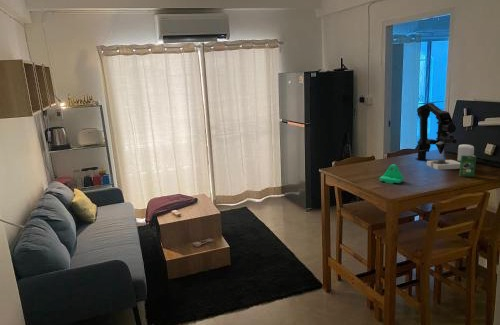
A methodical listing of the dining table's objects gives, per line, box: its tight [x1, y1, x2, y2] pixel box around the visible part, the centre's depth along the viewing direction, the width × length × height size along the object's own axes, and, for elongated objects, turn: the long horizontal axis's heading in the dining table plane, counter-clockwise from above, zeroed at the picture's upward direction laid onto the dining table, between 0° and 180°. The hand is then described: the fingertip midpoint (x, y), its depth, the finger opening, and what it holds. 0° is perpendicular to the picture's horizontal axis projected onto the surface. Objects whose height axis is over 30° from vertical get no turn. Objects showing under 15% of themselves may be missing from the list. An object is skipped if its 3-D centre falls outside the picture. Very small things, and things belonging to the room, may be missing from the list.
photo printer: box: [457, 143, 475, 162], centre depth 267 cm, size 10×4×12 cm, turn 39°
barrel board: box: [426, 159, 461, 171], centre depth 255 cm, size 14×18×3 cm
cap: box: [434, 158, 446, 164], centre depth 255 cm, size 6×6×5 cm
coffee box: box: [458, 155, 477, 178], centre depth 229 cm, size 8×3×13 cm, turn 77°
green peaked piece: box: [379, 163, 404, 185], centre depth 224 cm, size 12×8×10 cm, turn 51°
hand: (440, 153), depth 253 cm, fingers closed
